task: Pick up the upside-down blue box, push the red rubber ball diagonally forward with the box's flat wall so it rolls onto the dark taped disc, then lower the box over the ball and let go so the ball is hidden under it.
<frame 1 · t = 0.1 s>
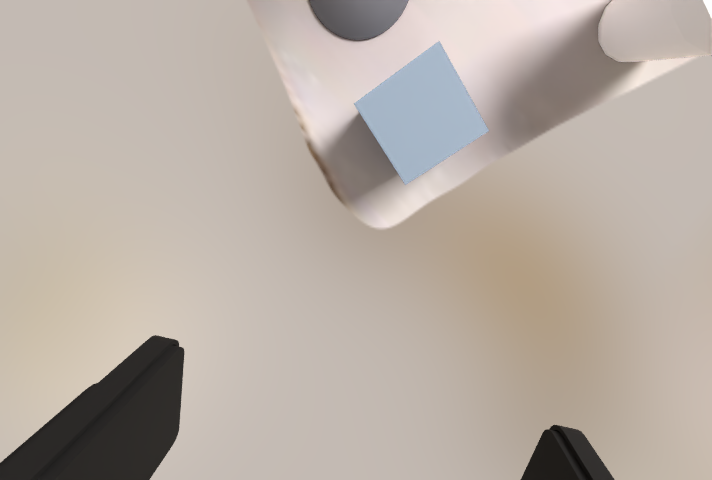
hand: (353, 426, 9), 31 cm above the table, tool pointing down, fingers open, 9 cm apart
foam cup: (632, 25, 32), on the table
blue box: (412, 121, 36), on the table
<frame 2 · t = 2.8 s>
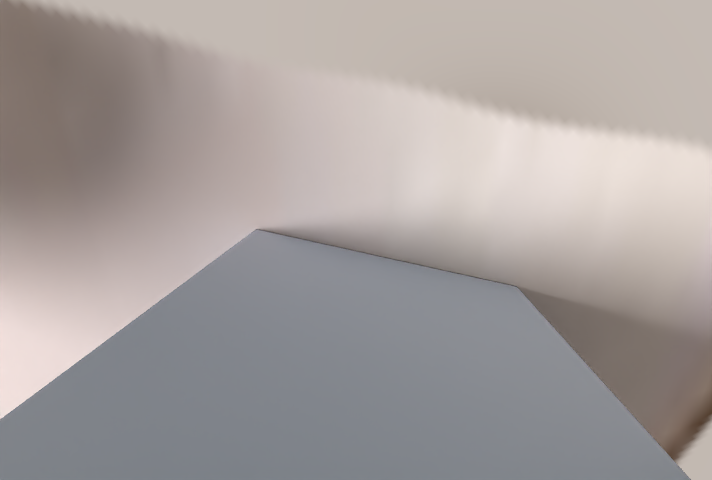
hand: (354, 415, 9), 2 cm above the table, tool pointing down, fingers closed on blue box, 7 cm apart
blue box: (358, 367, 11), on the table, touching gripper
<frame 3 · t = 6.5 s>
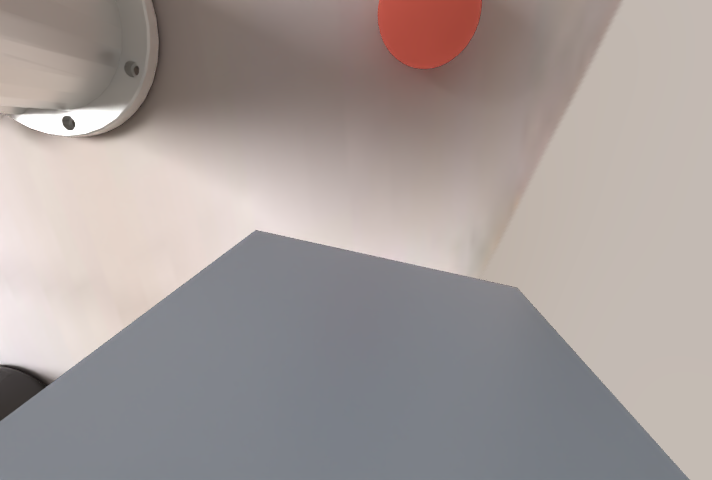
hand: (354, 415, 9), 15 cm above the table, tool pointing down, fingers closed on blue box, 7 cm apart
ball: (428, 12, 17), on the table
ink bottle: (21, 404, 30), on the table
blue box: (358, 368, 11), point 13 cm above the table, touching gripper
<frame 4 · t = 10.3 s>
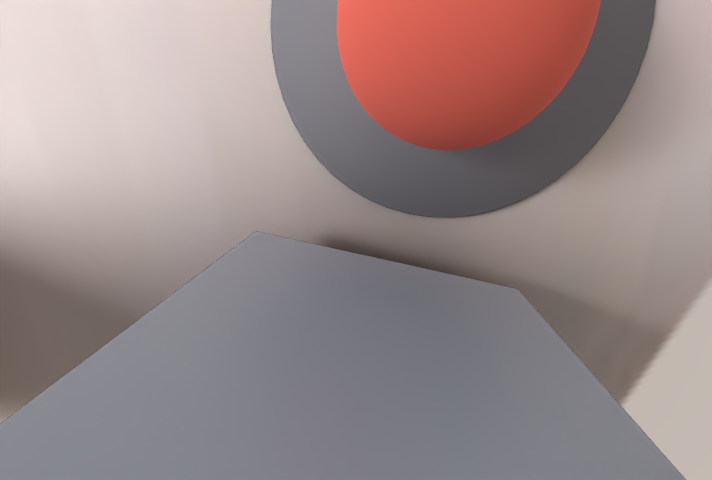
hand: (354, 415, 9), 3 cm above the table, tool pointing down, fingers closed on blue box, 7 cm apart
ball: (456, 26, 7), on the table
blue box: (358, 370, 11), point 1 cm above the table, touching gripper
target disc: (452, 37, 9), on the table
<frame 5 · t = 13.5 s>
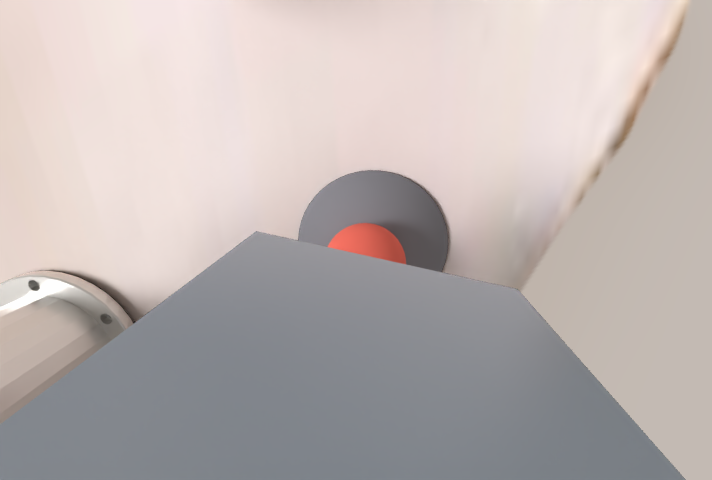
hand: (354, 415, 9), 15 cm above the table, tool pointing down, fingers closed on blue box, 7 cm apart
ball: (364, 263, 21), on the table
blue box: (358, 370, 11), point 13 cm above the table, touching gripper
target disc: (372, 245, 23), on the table
when the fingers open (2 cm above the table, at t = 16.5 s): blue box stays where it is, on the table.
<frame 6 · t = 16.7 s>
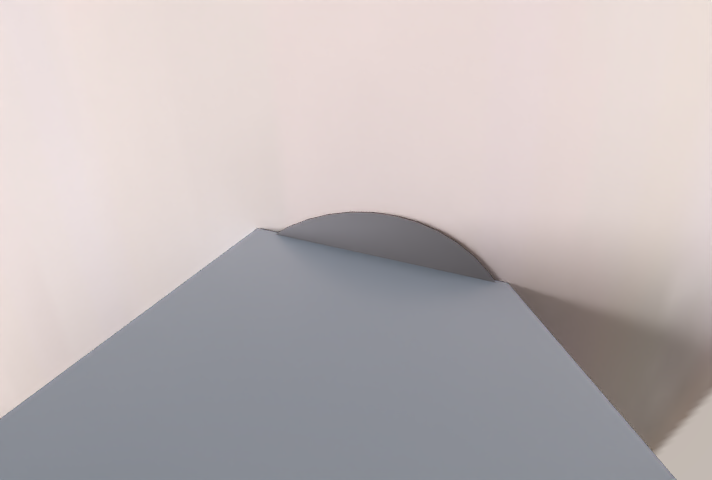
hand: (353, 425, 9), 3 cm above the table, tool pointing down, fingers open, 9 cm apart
blue box: (356, 361, 12), on the table
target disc: (360, 359, 12), on the table
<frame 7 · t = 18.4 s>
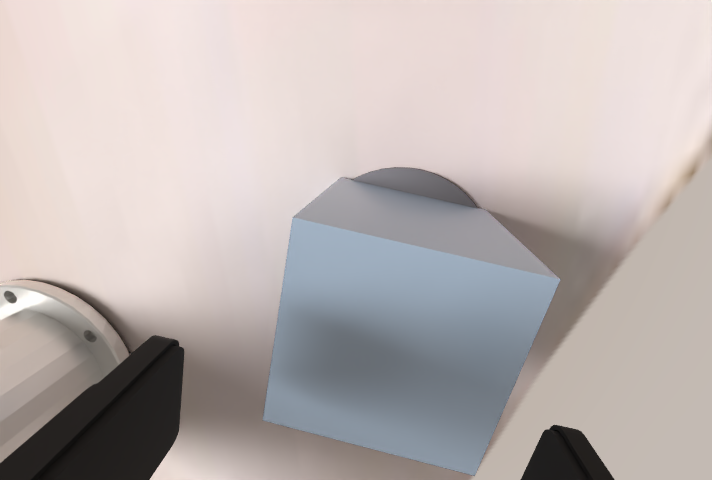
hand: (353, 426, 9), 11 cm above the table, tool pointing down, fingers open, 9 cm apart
blue box: (395, 260, 19), on the table
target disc: (397, 258, 19), on the table
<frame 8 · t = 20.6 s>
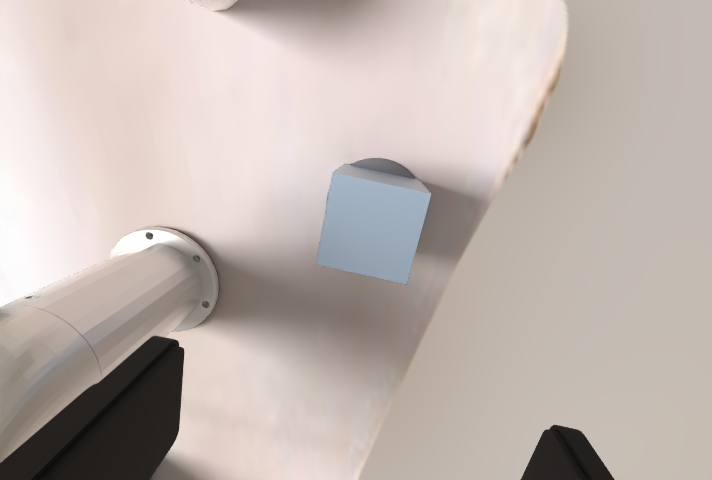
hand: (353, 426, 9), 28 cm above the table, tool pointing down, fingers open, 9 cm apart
blue box: (373, 208, 36), on the table
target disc: (374, 207, 36), on the table
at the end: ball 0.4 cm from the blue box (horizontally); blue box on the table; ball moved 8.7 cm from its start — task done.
